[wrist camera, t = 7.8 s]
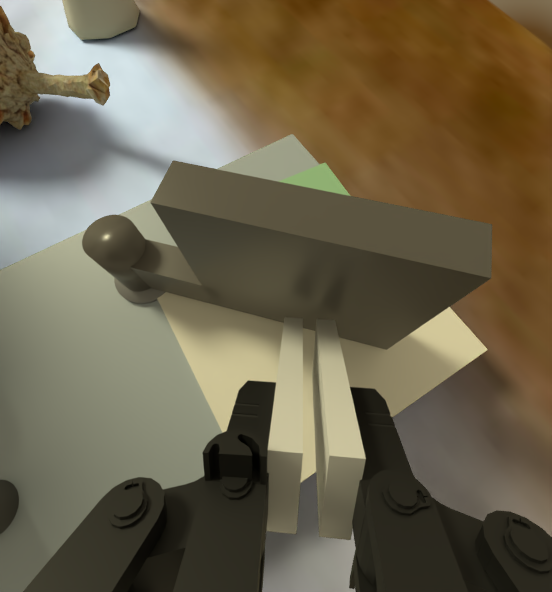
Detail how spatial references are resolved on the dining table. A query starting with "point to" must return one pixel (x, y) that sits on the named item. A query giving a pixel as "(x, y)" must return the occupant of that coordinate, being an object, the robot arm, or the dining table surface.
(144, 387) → the board
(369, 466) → the robot arm
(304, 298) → the gate
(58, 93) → the pine cone
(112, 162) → the dining table surface
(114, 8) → the flask
